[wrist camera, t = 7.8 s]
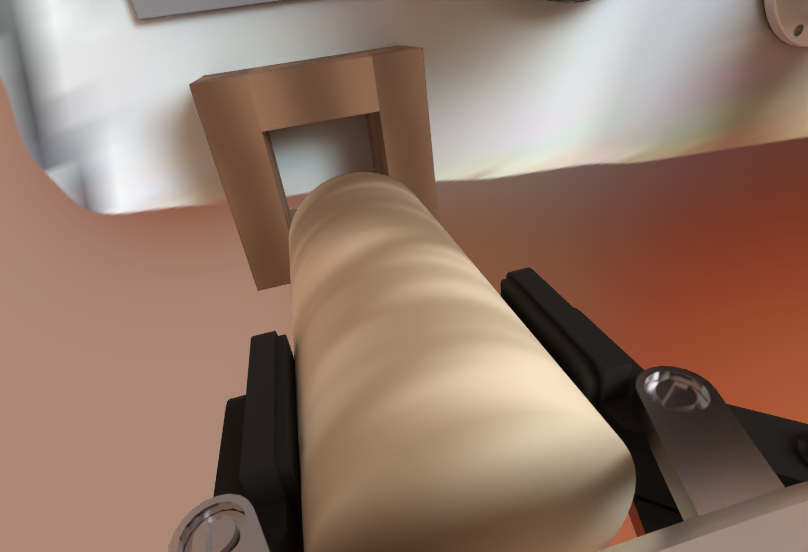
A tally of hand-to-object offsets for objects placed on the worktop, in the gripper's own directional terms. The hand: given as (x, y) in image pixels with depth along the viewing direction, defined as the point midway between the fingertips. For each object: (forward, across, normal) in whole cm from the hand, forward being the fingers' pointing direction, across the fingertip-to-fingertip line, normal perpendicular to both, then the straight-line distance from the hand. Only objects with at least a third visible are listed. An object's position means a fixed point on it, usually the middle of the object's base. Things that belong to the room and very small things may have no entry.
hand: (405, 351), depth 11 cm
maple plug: (+7, 0, 0) cm, 7 cm away
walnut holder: (+25, 0, +1) cm, 25 cm away
